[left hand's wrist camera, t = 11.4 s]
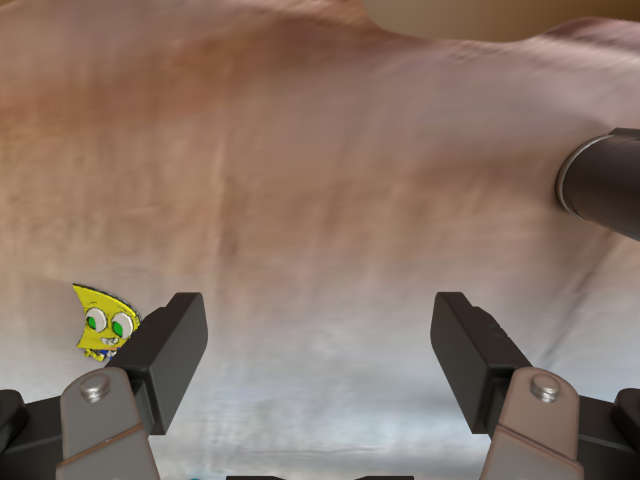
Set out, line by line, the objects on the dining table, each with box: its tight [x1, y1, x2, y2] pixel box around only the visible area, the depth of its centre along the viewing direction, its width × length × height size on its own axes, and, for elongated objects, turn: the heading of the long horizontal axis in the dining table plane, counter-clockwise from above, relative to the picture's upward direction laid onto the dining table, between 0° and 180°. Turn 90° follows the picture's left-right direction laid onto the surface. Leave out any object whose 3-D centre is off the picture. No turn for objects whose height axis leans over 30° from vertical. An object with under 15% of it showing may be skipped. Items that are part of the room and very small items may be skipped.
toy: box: [73, 283, 141, 361], centre depth 46 cm, size 10×1×15 cm
